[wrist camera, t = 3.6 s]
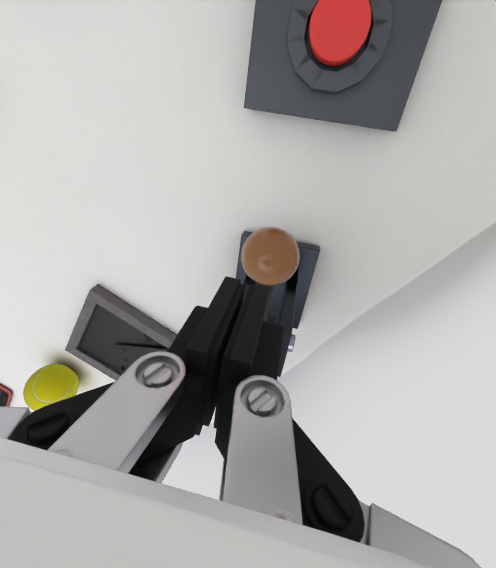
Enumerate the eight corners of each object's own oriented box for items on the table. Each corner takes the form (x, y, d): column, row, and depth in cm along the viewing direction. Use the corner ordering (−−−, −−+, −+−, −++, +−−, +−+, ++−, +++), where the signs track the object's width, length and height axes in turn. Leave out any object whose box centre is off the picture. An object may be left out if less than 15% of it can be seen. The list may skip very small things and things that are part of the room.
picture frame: (212, 357, 40) (97, 284, 38) (207, 368, 39) (87, 291, 37) (172, 403, 47) (72, 343, 45) (166, 414, 45) (62, 351, 43)
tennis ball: (79, 392, 51) (47, 429, 45) (44, 369, 50) (6, 403, 44) (94, 373, 47) (62, 410, 41) (56, 348, 46) (17, 381, 40)
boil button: (375, -2, 18) (380, -13, 17) (356, 69, 20) (359, 65, 18) (317, -8, 18) (317, -20, 17) (304, 62, 20) (303, 57, 19)
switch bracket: (243, 230, 31) (209, 283, 21) (319, 246, 30) (322, 308, 20) (233, 308, 36) (201, 381, 26) (298, 323, 35) (291, 404, 25)
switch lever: (250, 209, 16) (234, 252, 14) (308, 221, 16) (300, 266, 14) (243, 322, 27) (234, 354, 25) (278, 330, 26) (271, 363, 24)
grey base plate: (447, -40, 19) (476, -75, 16) (390, 131, 24) (402, 132, 21) (268, -57, 20) (259, -93, 17) (249, 108, 25) (238, 106, 22)
